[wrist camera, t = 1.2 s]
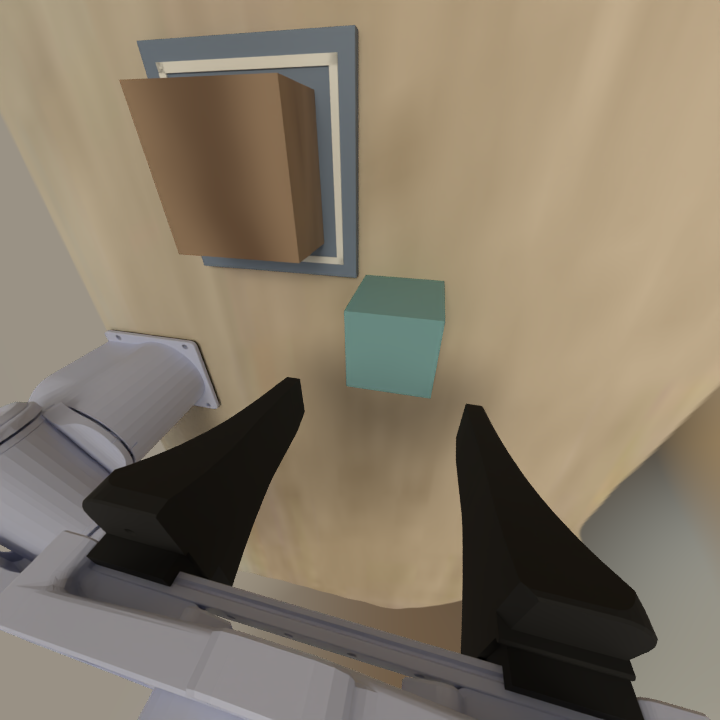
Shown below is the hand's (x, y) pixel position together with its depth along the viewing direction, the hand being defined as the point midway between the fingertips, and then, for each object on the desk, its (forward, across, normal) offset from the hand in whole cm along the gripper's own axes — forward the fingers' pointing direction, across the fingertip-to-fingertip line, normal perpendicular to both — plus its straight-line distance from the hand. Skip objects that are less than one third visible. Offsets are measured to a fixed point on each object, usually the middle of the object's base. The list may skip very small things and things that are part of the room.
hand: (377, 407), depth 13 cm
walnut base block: (+9, +8, -8) cm, 15 cm away
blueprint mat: (+9, +8, -8) cm, 15 cm away
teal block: (+9, 0, 0) cm, 9 cm away
